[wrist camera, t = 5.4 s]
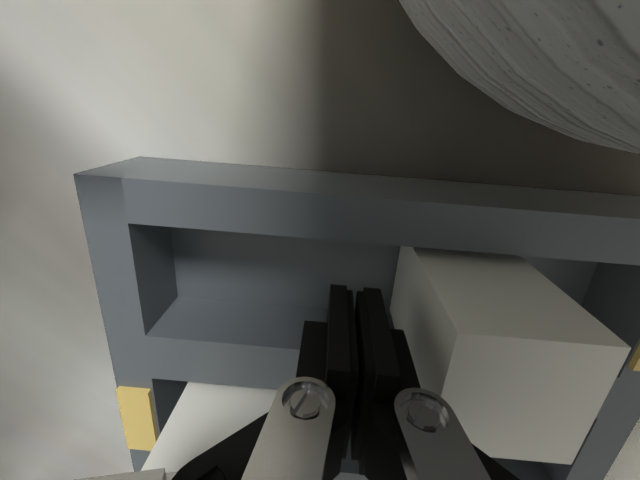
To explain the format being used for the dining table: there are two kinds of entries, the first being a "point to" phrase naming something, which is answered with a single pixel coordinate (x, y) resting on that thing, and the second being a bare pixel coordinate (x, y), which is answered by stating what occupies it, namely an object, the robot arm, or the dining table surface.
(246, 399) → the tab middle
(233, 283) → the switch bank
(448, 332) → the tab
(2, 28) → the dining table surface
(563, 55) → the vase
